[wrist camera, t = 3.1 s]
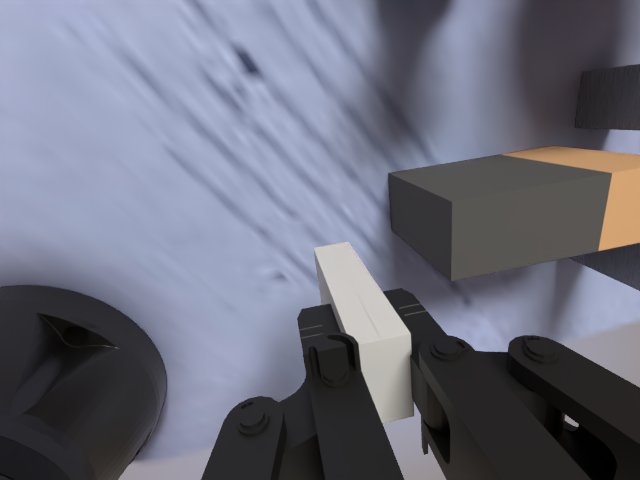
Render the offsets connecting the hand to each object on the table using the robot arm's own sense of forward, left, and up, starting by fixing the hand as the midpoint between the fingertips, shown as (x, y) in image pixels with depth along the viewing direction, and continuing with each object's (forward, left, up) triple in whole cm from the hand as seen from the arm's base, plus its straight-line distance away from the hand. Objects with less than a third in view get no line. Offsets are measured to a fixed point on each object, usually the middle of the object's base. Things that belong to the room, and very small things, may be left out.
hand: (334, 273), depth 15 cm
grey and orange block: (+12, 0, -9) cm, 15 cm away
